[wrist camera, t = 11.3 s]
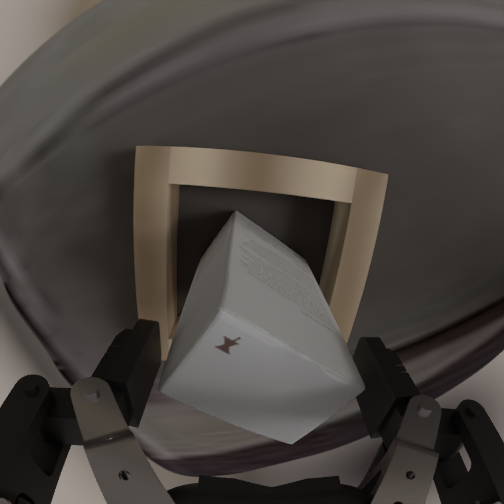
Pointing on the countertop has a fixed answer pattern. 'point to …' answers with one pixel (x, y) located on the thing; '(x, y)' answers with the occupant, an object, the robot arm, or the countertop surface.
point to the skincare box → (259, 339)
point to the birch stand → (257, 179)
